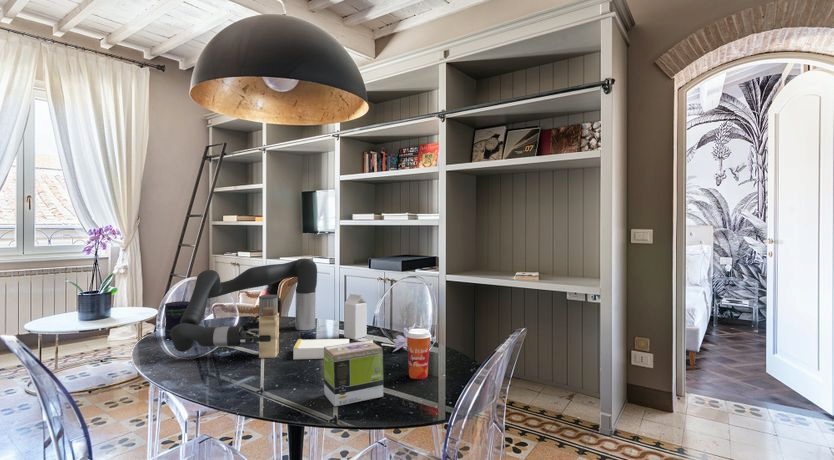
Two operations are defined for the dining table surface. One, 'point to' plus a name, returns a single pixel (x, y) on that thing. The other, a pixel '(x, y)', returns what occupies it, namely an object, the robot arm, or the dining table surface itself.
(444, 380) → the dining table surface
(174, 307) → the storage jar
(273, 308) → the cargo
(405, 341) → the water lily
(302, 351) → the white flat box
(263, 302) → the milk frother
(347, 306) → the milk carton
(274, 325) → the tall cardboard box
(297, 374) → the dining table surface
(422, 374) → the coffee cup
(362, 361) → the tea box
